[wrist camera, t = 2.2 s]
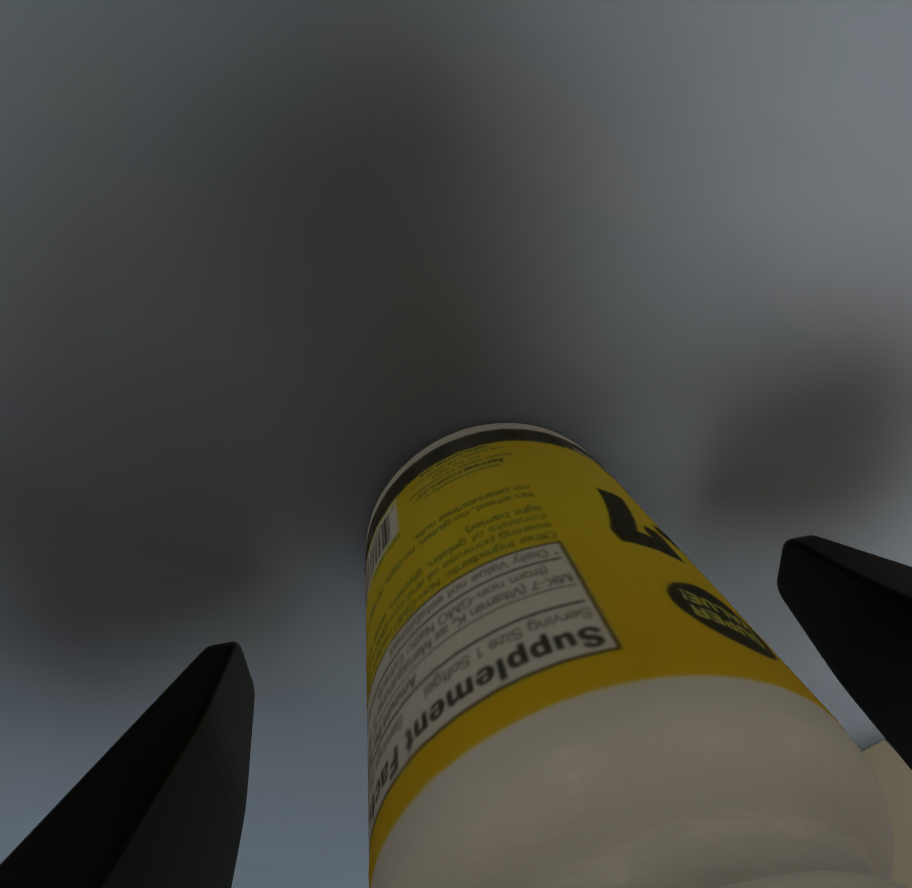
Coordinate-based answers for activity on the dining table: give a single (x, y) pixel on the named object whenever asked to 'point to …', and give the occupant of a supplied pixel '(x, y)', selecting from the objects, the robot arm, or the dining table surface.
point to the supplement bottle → (584, 696)
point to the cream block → (895, 804)
